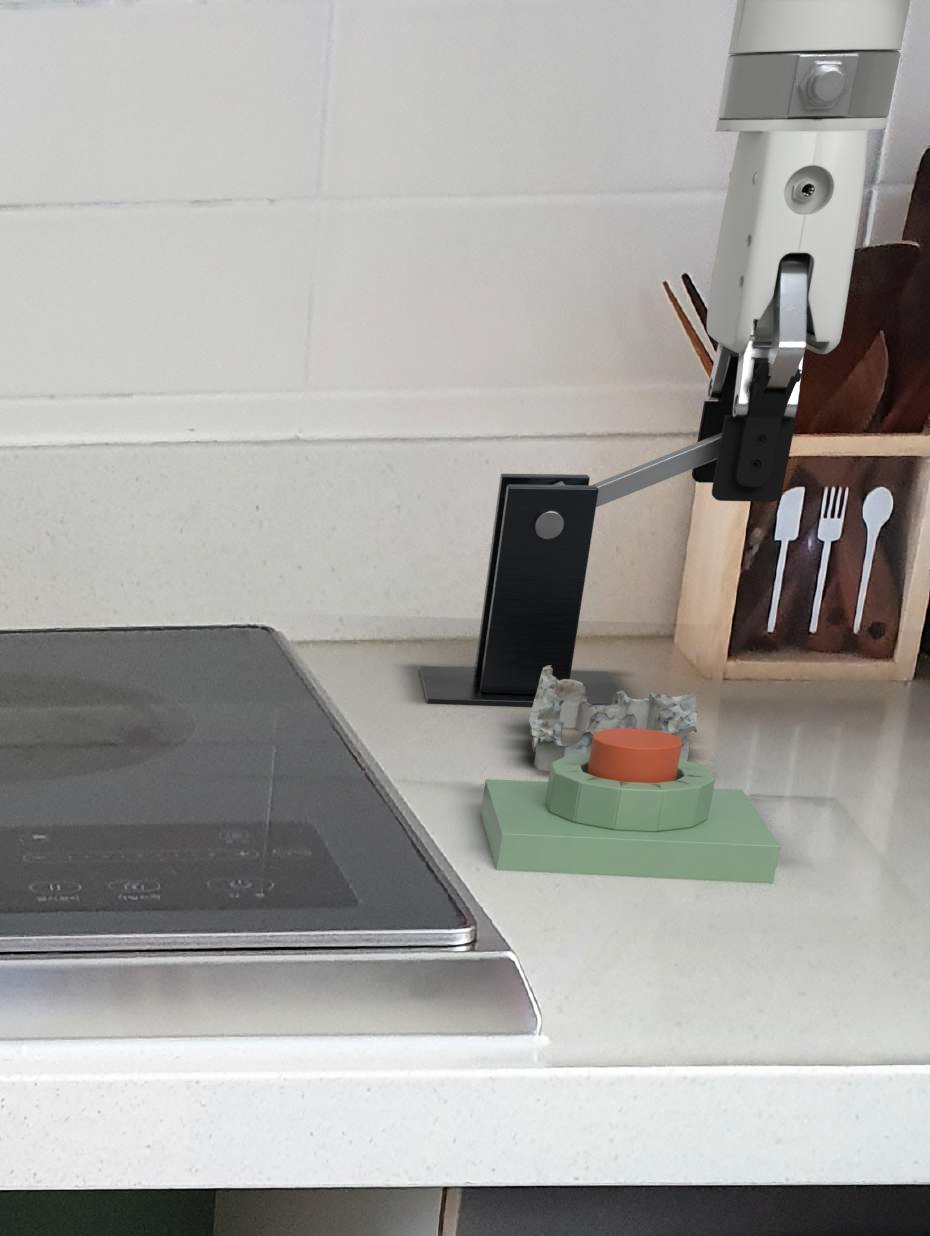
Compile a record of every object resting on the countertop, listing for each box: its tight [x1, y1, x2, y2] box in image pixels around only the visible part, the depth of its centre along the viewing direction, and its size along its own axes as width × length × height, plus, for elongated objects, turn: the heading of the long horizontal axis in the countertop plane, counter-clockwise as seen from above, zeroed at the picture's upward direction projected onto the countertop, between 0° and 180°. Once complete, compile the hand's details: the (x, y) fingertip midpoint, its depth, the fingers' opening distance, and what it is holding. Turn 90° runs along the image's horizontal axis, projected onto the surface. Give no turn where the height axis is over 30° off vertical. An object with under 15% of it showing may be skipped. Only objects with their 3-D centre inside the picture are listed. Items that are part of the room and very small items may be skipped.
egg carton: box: [528, 665, 698, 772], centre depth 110 cm, size 11×8×4 cm
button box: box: [480, 753, 781, 884], centre depth 99 cm, size 11×9×4 cm
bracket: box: [419, 473, 620, 708], centre depth 121 cm, size 10×8×12 cm
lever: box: [553, 433, 722, 508], centre depth 117 cm, size 12×6×2 cm, turn 77°
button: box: [587, 728, 682, 783], centre depth 98 cm, size 4×4×2 cm
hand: (734, 487), depth 116 cm, fingers closed on lever, 5 cm apart
